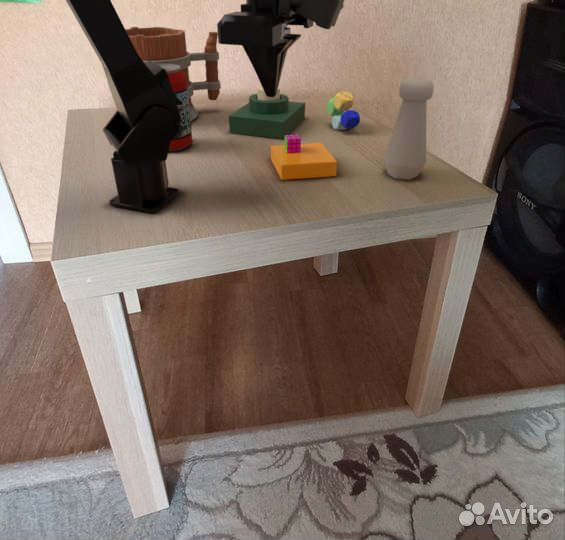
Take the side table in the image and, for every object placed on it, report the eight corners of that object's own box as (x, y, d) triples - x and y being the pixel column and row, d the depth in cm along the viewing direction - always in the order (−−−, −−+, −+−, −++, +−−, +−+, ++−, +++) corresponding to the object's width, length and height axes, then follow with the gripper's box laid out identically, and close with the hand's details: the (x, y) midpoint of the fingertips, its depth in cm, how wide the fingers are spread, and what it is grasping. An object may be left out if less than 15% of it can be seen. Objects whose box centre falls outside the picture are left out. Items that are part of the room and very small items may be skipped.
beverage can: (180, 155, 73) (170, 73, 66) (142, 149, 75) (129, 69, 68) (200, 141, 78) (193, 64, 72) (164, 137, 80) (154, 61, 73)
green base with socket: (283, 139, 80) (283, 109, 77) (229, 132, 82) (228, 103, 80) (304, 118, 90) (305, 91, 87) (256, 113, 93) (255, 87, 90)
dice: (359, 134, 83) (363, 96, 79) (346, 135, 82) (350, 97, 78) (336, 121, 89) (339, 86, 85) (324, 123, 88) (326, 87, 84)
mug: (117, 112, 92) (101, 26, 84) (210, 102, 99) (205, 22, 91) (130, 132, 82) (114, 37, 73) (234, 120, 89) (230, 32, 80)
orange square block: (321, 156, 73) (322, 129, 71) (336, 176, 67) (338, 147, 64) (270, 159, 72) (270, 132, 69) (281, 180, 65) (281, 150, 63)
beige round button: (275, 103, 82) (275, 91, 80) (254, 101, 83) (253, 89, 81) (282, 98, 85) (283, 86, 84) (262, 96, 86) (262, 84, 85)
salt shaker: (423, 184, 65) (442, 85, 58) (381, 180, 66) (395, 82, 59) (421, 168, 70) (439, 75, 62) (382, 165, 71) (395, 73, 63)
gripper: (321, -49, 43) (314, 122, 52) (356, -49, 58) (345, 85, 66) (209, -50, 45) (220, 113, 54) (270, -49, 60) (271, 79, 69)
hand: (271, 96), depth 61 cm, fingers closed
